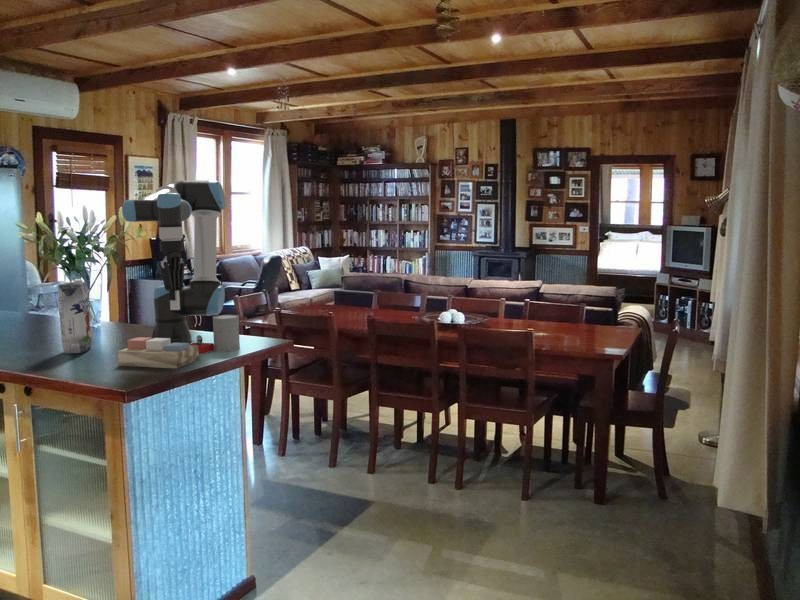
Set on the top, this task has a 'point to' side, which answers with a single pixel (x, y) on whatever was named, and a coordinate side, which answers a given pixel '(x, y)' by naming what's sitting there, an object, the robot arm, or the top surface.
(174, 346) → the blue key
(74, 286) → the juice carton
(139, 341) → the red key
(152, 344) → the white key
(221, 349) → the grey cylinder
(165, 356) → the frame
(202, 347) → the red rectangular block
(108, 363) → the top surface
